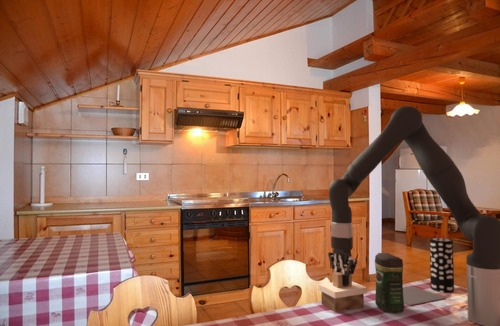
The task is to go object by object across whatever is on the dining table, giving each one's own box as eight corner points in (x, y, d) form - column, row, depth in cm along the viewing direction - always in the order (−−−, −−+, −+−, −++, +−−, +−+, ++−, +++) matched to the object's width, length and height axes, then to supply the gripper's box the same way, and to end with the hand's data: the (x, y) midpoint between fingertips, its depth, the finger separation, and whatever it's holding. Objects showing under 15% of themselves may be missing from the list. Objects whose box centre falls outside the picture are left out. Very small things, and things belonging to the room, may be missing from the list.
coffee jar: (408, 313, 112) (407, 257, 113) (385, 314, 111) (384, 257, 112) (393, 303, 121) (392, 250, 122) (372, 303, 121) (371, 251, 122)
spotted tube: (454, 294, 131) (452, 242, 132) (429, 290, 135) (428, 240, 136) (454, 288, 138) (453, 239, 139) (431, 285, 142) (430, 237, 143)
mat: (412, 287, 139) (412, 286, 139) (445, 298, 126) (445, 297, 126) (378, 292, 132) (378, 291, 133) (410, 305, 119) (410, 304, 119)
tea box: (348, 299, 125) (348, 282, 125) (363, 306, 118) (363, 289, 118) (321, 303, 120) (321, 286, 121) (335, 312, 113) (335, 293, 113)
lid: (348, 285, 126) (348, 267, 126) (366, 293, 117) (366, 274, 118) (318, 289, 121) (318, 271, 121) (334, 298, 112) (334, 278, 113)
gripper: (321, 232, 125) (321, 280, 124) (346, 238, 112) (346, 291, 111) (338, 231, 128) (338, 277, 127) (363, 237, 115) (364, 288, 114)
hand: (342, 283), depth 119 cm, fingers closed on lid, 3 cm apart
